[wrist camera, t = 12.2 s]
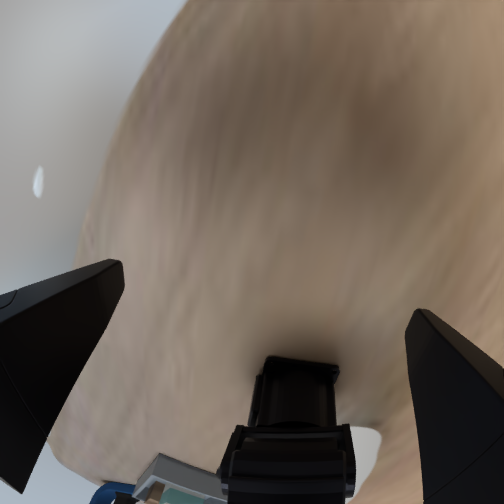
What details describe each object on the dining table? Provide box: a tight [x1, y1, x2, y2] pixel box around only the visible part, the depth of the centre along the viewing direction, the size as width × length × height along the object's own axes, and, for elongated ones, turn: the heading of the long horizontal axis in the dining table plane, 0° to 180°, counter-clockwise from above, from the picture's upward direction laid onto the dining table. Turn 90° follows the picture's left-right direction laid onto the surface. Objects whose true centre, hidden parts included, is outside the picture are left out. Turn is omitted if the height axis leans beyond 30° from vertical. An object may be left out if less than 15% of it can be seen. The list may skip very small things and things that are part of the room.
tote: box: [132, 453, 227, 504], centre depth 41 cm, size 20×13×4 cm, turn 153°
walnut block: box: [144, 481, 166, 504], centre depth 43 cm, size 6×8×4 cm
